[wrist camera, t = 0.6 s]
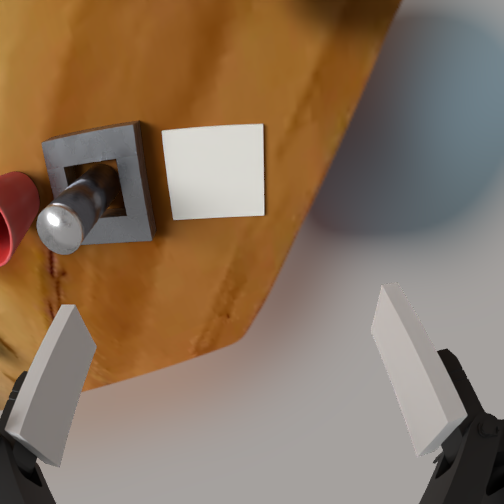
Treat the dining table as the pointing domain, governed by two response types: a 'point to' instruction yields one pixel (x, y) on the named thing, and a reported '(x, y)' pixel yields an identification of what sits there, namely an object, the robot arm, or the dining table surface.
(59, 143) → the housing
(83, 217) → the metal cylinder
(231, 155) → the pad
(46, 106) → the dining table surface
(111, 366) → the dining table surface
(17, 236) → the flower pot
